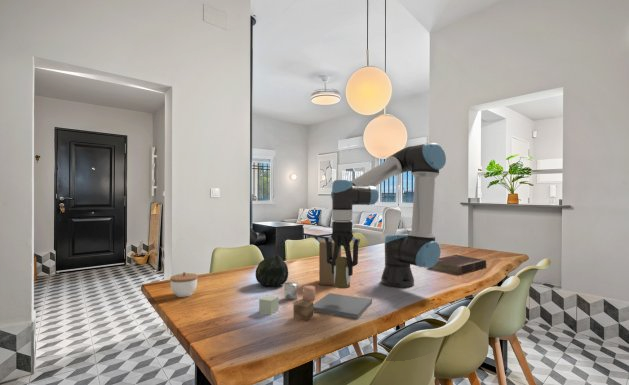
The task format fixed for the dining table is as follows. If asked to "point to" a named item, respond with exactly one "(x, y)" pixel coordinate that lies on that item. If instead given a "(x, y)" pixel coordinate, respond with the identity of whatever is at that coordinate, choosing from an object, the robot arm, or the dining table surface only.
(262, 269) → the squash
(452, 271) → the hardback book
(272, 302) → the sage block
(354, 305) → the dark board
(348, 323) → the dining table surface
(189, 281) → the lidded jar
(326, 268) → the wooden block
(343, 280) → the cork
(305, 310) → the walnut block
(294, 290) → the metal tin
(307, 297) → the peach rounded capsule
